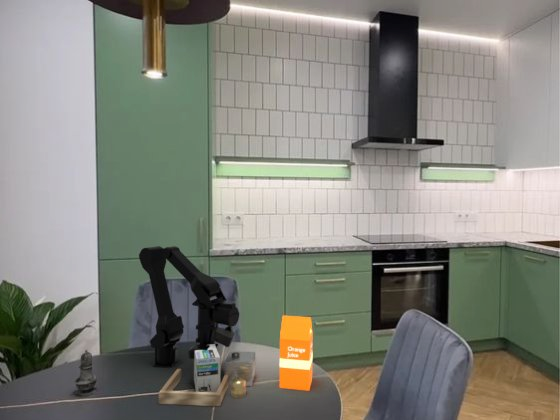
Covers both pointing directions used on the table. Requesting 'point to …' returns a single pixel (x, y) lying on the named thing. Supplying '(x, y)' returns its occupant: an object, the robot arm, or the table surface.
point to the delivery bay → (191, 393)
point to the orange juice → (296, 353)
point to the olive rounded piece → (238, 387)
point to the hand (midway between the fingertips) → (206, 369)
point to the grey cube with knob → (241, 366)
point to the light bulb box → (207, 369)
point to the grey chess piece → (86, 376)
